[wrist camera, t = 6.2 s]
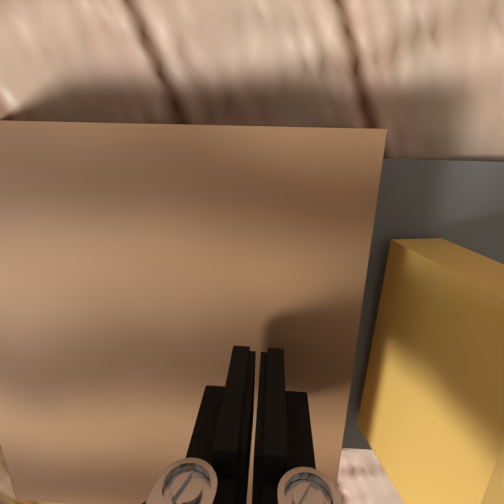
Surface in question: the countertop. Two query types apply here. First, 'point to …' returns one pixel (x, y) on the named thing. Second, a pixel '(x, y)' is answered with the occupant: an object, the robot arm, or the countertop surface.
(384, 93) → the countertop surface
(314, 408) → the brown wooden block
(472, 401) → the yellow block
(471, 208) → the mat
